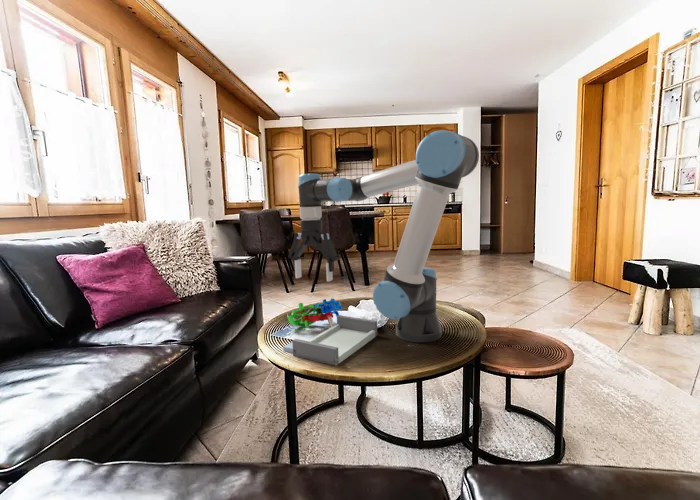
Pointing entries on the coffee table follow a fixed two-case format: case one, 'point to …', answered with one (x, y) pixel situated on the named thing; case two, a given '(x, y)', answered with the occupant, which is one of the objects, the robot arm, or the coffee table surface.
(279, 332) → the coffee table surface
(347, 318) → the tray
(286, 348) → the wing blank
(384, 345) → the coffee table surface
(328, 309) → the toy
